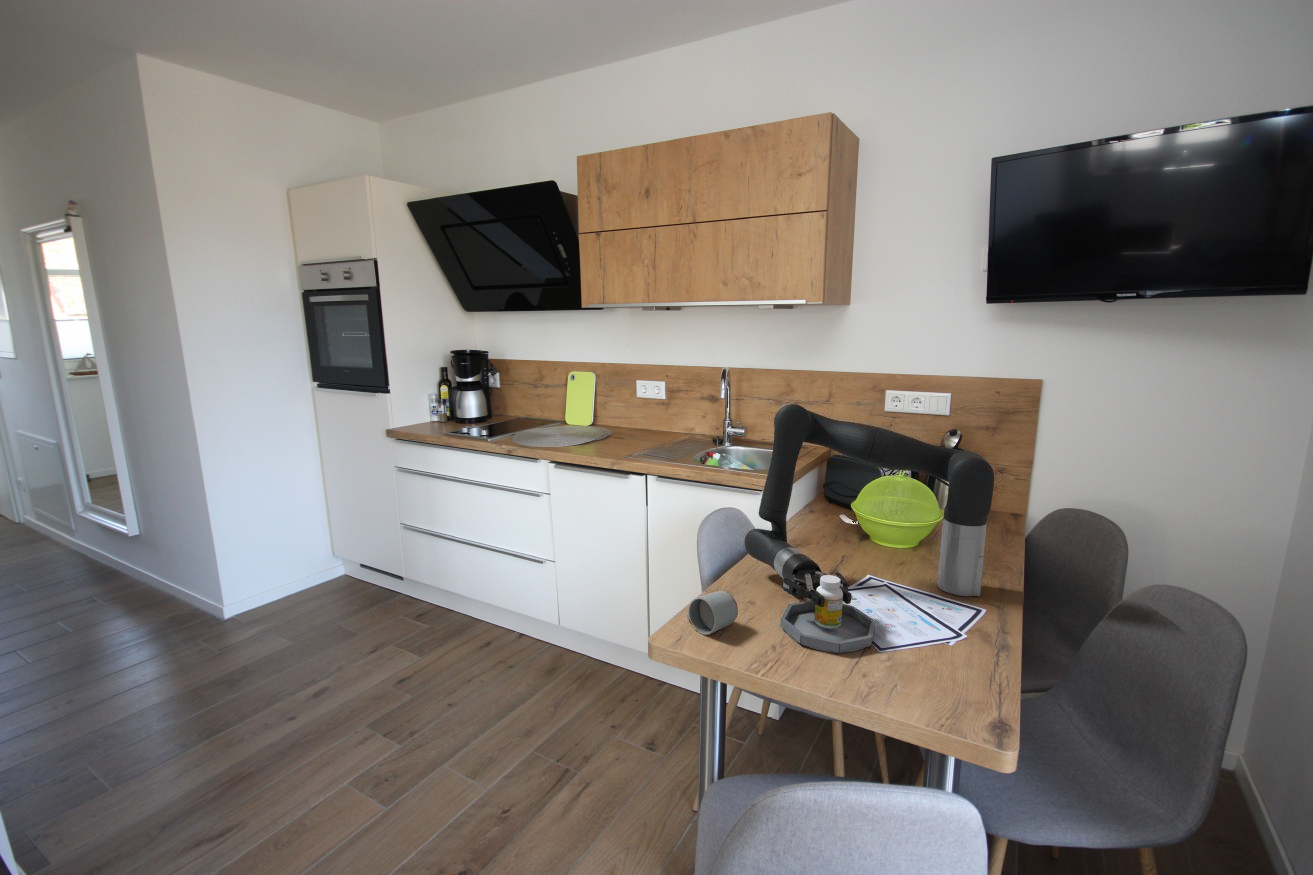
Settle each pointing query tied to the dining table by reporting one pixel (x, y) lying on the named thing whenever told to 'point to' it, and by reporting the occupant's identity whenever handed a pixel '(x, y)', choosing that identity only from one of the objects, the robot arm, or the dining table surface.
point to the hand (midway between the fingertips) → (836, 600)
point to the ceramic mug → (712, 612)
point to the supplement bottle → (829, 602)
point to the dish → (828, 629)
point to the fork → (847, 519)
